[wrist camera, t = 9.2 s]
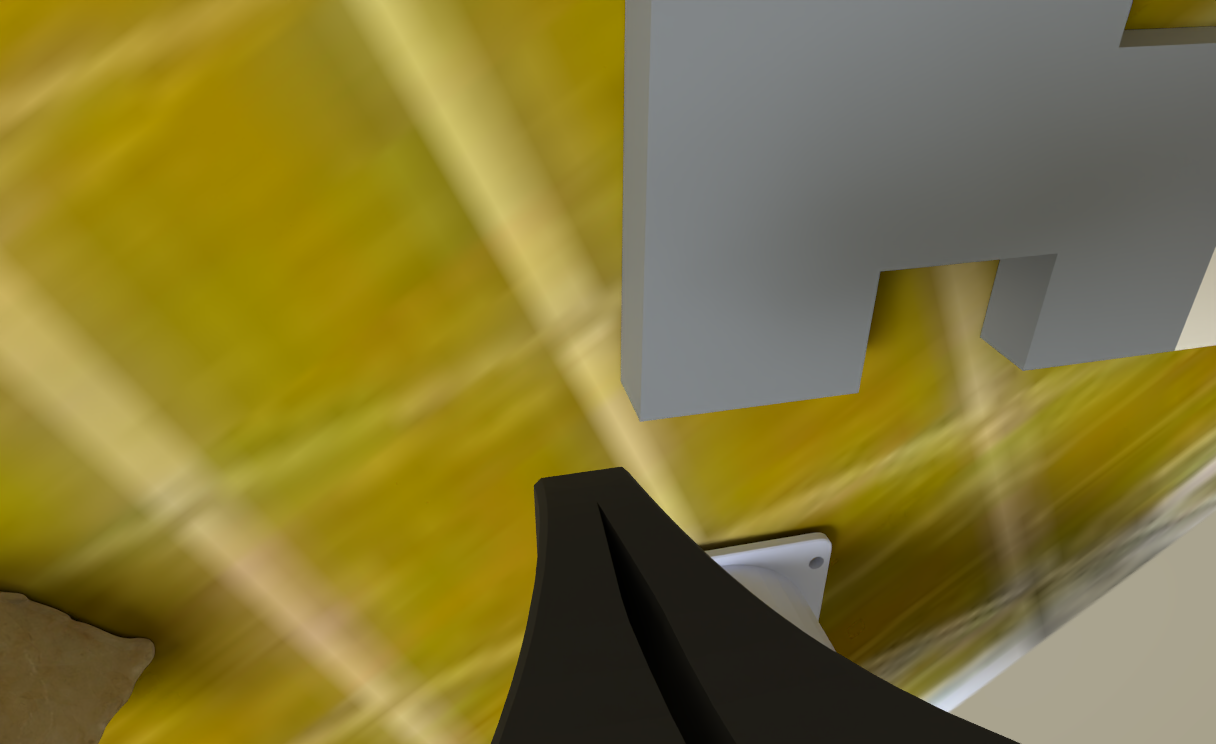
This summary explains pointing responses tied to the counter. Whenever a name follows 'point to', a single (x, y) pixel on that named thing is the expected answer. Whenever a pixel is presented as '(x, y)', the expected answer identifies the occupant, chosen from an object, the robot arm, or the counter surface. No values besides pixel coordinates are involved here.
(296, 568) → the counter surface
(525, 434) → the counter surface
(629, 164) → the plate
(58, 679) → the rock
